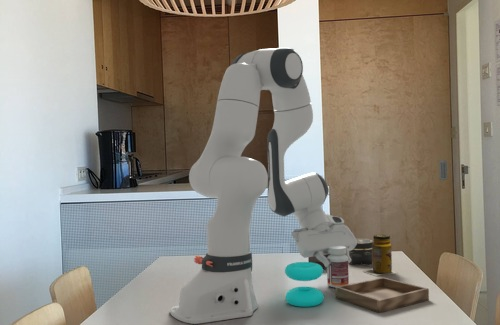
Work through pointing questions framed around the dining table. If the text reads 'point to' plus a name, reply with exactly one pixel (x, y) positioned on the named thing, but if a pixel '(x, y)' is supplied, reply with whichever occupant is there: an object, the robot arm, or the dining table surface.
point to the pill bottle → (337, 267)
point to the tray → (382, 294)
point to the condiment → (381, 256)
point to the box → (315, 260)
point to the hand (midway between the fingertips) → (339, 263)
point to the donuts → (304, 294)
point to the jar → (362, 252)
